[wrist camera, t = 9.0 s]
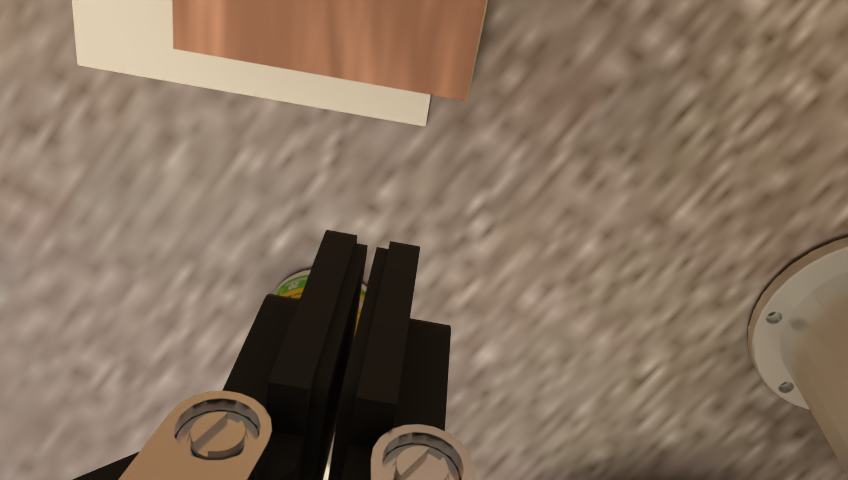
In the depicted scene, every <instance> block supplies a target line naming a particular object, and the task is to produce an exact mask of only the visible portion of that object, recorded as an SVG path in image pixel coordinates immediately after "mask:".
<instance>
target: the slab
mask: <svg viewBox="0 0 848 480" xmlns="http://www.w3.org/2000/svg"><path fill="white" fill-rule="evenodd" d="M487 3H488V0H172V10H173V49H177V50H183V51H188V52H194V53H200V54H205V55H211V56H216V57H222V58H228V59H233V60H239V61H244V62H250V63H256V64H261V65H267V66H272V67H278V68H284V69H289V70H295V71H300V72H306V73H312V74H317V75H323V76H328V77H334V78H339V79H345V80H351V81H356V82H362V83H367V84H373V85H379V86H384V87H390V88H395V89H401V90H407V91H412V92H418V93H423V94H429V95H435V96H440V97H446V98H451V99H457V100H463V101H468V97H469V92H470V87H471V82H472V77H473V72H474V67H475V62H476V57H477V53H478V48H479V43H480V38H481V33H482V28H483V23H484V18H485V13H486V8H487Z"/></svg>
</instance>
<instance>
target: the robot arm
mask: <svg viewBox="0 0 848 480" xmlns="http://www.w3.org/2000/svg"><path fill="white" fill-rule="evenodd" d="M419 251H420V247H419V246H414V245H408V244H403V243H397V242H391V241H390V245H389V249H385V248H379V247H377V249H376V252H375V257H374V261H373V265H372V269H371V273H370V277H369V281H368V285H367V289H366V293H365V297H364V301H363V305H362V309H361V313H360V317H359V321H358V325H357V329H356V323H357V316H358V309H359V302H360V295H361V289H362V282H363V275H364V268H365V261H366V255H367V245H362V244H357V235H352V234H347V233H341V232H336V231H330V230H326V232H325V234H324V237H323V240H322V242H321V245H320V247H319V250H318V253H317V255H316V258H315V260H314V263H313V266H312V268H311V271H310V273H309V276H308V279H307V281H306V284H305V286H304V289H303V292H302V294H301V297H300V299H297V298H291V297H285V296H280V295H274V294H268V295H267V296H266V297H265V299H264V301H263V303H262V305H261V308H260V310H259V312H258V314H257V316H256V319H255V321H254V323H253V325H252V327H251V329H250V332H249V334H248V336H247V338H246V340H245V343H244V345H243V347H242V349H241V351H240V353H239V356H238V358H237V360H236V362H235V364H234V367H233V369H232V371H231V373H230V375H229V377H228V380H227V382H226V384H225V386H224V388H223V391H213V392H206V393H203V394H199V395H195V396H193V397H191V398H189V399H187V400H185V401H183V402H181V403H180V404H179V405H178V406H177V407H176V408H174V409H173V410H172V411H171V412H170V413H169V414H168V416H167V417H166V418H165V420H164V421H163V422H162V424H161V425H160V426H159V427H158V429H157V430H156V431H155V433H154V434H153V435H152V437H151V438H150V439H149V440H148V442H147V443H146V444H145V446H144V447H143V448H142V450H141V451H140V452H137V453H135V454H133V455H130V456H128V457H125V458H123V459H121V460H118V461H116V462H114V463H111V464H109V465H106V466H104V467H102V468H99V469H97V470H94V471H92V472H90V473H87V474H85V475H82V476H80V477H78V478H75V479H73V480H323V478H324V474H325V470H326V466H327V462H328V458H329V454H330V450H331V445H332V441H333V437H334V442H333V449H332V456H331V463H330V470H329V477H328V480H476V474H475V468H474V464H473V461H472V459H471V456H470V453H469V452H468V451H467V449H466V448H465V447H464V446H463V444H462V443H461V442H460V441H459V440H457V439H456V438H455V437H453V436H452V435H451V434H449V433H447V432H445V417H446V401H447V385H448V369H449V352H450V336H451V327H450V325H444V324H438V323H433V322H427V321H421V320H416V319H410V313H411V306H412V299H413V292H414V286H415V279H416V272H417V265H418V258H419ZM355 330H356V333H355ZM354 336H355V337H354ZM747 343H748V348H749V353H750V358H751V360H752V362H753V364H754V366H755V368H756V371H757V373H758V374H759V376H760V377H761V379H762V380H763V382H764V383H765V385H766V386H767V387H768V388H769V389H770V390H771V391H772V392H773V393H774V394H776V395H777V396H778V397H780V398H782V399H784V400H785V401H787V402H789V403H791V404H793V405H796V406H798V407H801V408H804V409H807V410H810V411H811V413H812V414H813V416H814V418H815V420H816V421H817V423H818V425H819V427H820V429H821V430H822V432H823V434H824V436H825V437H826V439H827V441H828V443H829V444H830V446H831V448H832V450H833V452H834V453H835V455H836V457H837V459H838V460H839V462H840V464H841V466H842V468H843V469H844V471H845V473H846V475H847V476H848V237H847V238H843V239H840V240H837V241H834V242H831V243H829V244H827V245H825V246H823V247H820V248H818V249H816V250H814V251H812V252H810V253H809V254H807V255H805V256H804V257H802V258H801V259H799V260H798V261H796V262H794V263H793V264H792V265H790V266H789V267H788V268H787V269H786V270H785V271H783V272H782V273H781V274H780V275H779V276H778V277H777V278H775V280H774V281H773V282H772V283H771V285H770V286H769V287H768V288H767V289H766V291H765V292H764V293H763V294H762V296H761V298H760V300H759V301H758V303H757V305H756V307H755V309H754V310H753V314H752V317H751V320H750V323H749V326H748V341H747ZM334 433H335V434H334Z"/></svg>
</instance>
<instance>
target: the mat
mask: <svg viewBox="0 0 848 480" xmlns="http://www.w3.org/2000/svg"><path fill="white" fill-rule="evenodd" d="M72 6H73V18H74V29H75V40H76V51H77V63H78V65H80V66H86V67H91V68H97V69H103V70H108V71H114V72H120V73H125V74H131V75H137V76H142V77H148V78H154V79H159V80H165V81H171V82H176V83H182V84H188V85H193V86H199V87H204V88H210V89H216V90H221V91H227V92H233V93H238V94H244V95H250V96H255V97H261V98H267V99H272V100H278V101H284V102H289V103H295V104H300V105H306V106H312V107H317V108H323V109H329V110H334V111H340V112H346V113H351V114H357V115H363V116H368V117H374V118H380V119H385V120H391V121H396V122H402V123H408V124H413V125H419V126H426V120H427V114H428V108H429V103H430V97H431V95H429V94H423V93H418V92H412V91H407V90H401V89H395V88H390V87H384V86H379V85H373V84H367V83H362V82H356V81H351V80H345V79H339V78H334V77H328V76H323V75H317V74H312V73H306V72H300V71H295V70H289V69H284V68H278V67H272V66H267V65H261V64H256V63H250V62H244V61H239V60H233V59H228V58H222V57H216V56H211V55H205V54H200V53H194V52H188V51H183V50H177V49H173V10H172V0H72Z"/></svg>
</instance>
